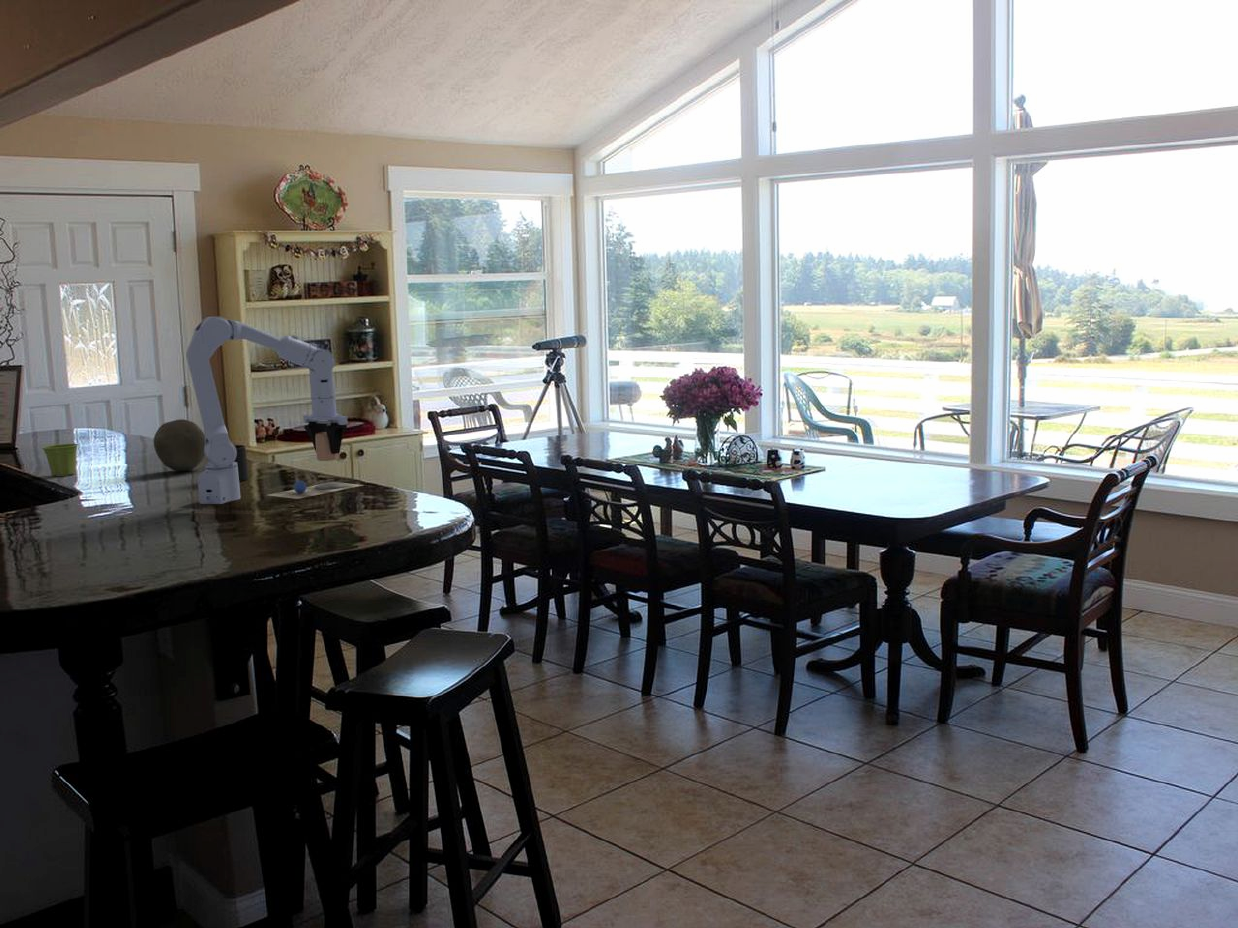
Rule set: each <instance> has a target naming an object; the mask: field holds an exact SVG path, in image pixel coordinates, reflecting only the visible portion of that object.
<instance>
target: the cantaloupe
mask: <svg viewBox="0 0 1238 928" xmlns="http://www.w3.org/2000/svg"><path fill="white" fill-rule="evenodd" d="M204 446H205V436H204V431H203V430H202V428H200V426H199V425H198V424H197V423H195V422H193V421H190V420H187V419H182V418H181V419H175V420H172V421H168V422H165V423H163V424H161V425H160V426H159V427H158V429H157V430H156V432H155V434H154V436H153V447H154V451H155V453H156V455H157V457H158V458H159V460H160V461H161V463H162V464H163V465H164V466H166V467H167V468H169V469H170V470H171V471H172V470H173V471H175V472H176V471H177V472H188V471H191V470H194V469H195V468H196V467H198V466H199V465H200V464H201V463H202V462H203V460H204V459H205V457H206V456H205V453H204Z"/></svg>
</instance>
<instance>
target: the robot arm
mask: <svg viewBox="0 0 1238 928" xmlns="http://www.w3.org/2000/svg"><path fill="white" fill-rule="evenodd" d="M190 340H191V341H190V342H189V345H188V347H187V350H186V361H187V365H188V368H189V369H188V370H189V373H190V377H191V381H192V385H193V389H194V393H195V398H196V401H197V405H198V409H199V413H200V418H201V422H202V426H203V433H204V436H205V446H204V453H205V457H206V458H207V459H208V461H207V463H206V464H205V465H204V466H205V469H204V471H201V473H199V475H198V477H197V488H198V490H197V491H198V499H199V504H200V505H202V504H203V505H205V504H207V505H211V504H212V505H222V504H225V503H229V502H233V501H237V500H240V499H241V498H242V497H241V490H240V488H241V487H240V482H239V475H238V465H237V462H234V461H235V459H236V456H237V450H236V447H235V446H234V445H235V444H233V442H232V441H231V440H230V437H229V432H228V430H227V427H226V424H225V421H224V417H223V413H222V408H221V404H220V400H219V396H218V391H217V388H216V384H215V380H214V376H213V371H212V366H211V363H210V359H211V357H212V356H213V355H214V353H215V352H216V351H217V349H218V348H219V347H221V346H222V345H224V344H225V343H227V342H228V341H229V340H233V341H236V340H246V341H248V342H251V343H254V344H257V345H260V346H263V347H265V348H268V349H271V350H274V351H275V352H276V354H277V356H278V358H279V359H282V360H284V361H288V362H290V363H293V364H295V365H297V366H301V367H303V368H304V367H307V369H308V370H309V388H310V401H311V410H312V411H311V413H312V414H310V413H309V414H303V415H302V419H303V424H305V425H304V426H303V427H304V430H305V431H306V432H307V434H308V435H309V438H310V440H311V442H312V445H313V449H314V452H316V442H315V436H316V435H315V434H316V433H321V432H326V433H327V436H328V440H329V445H330V451H331V454H337V453H339V454H341V453H340V452H341V449H342V447H341V446H342V442H343V437H344V435H345V432H346V430H347V428H348V424H349V423H348V416H347V415H341V414H340V413H337V405H336V404H337V403H336V389H335V381H334V380H335V378H334V372H333V371H334V370H333V369H334V367H335V365H336V360H335V359H334V356H333V353H331V352H330V351H329V350H327V349H325V348H320V347H318V344H315V343H313V342H312V343H308V342H305V341H304V340H301V339H299V336H297V335H295V334H293V335H291V336H290V335H285V336H282V337H278V336H276V335H274V334H271V333H269V332H266V331H263V330H262V329H259V328H256V327H254V326H252V325H250V324H247V323H244V322H241V321H237V320H232V319H229V318H227V319H226V318H224V317H222V316H208V317H205V318H204V319H203V320H201V322H200V323H199V324H197V326H196V327H195V328H194V331H193V335H192V338H191V339H190ZM306 424H307V425H306Z"/></svg>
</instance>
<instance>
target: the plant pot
mask: <svg viewBox="0 0 1238 928" xmlns="http://www.w3.org/2000/svg"><path fill="white" fill-rule="evenodd" d="M78 446H79V443H61V444H60V443H59V444H54V445H47V446H42V448H41V449H43V451H44V454H45V455H46V458H47V462H48V466H49V469H50V473H51V477H68V476H70V475H71V476H72V475H73V476H74V475H76V464H77V463H76V462H77V461H76V459H77V457H76V455H77V450H78Z"/></svg>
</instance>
